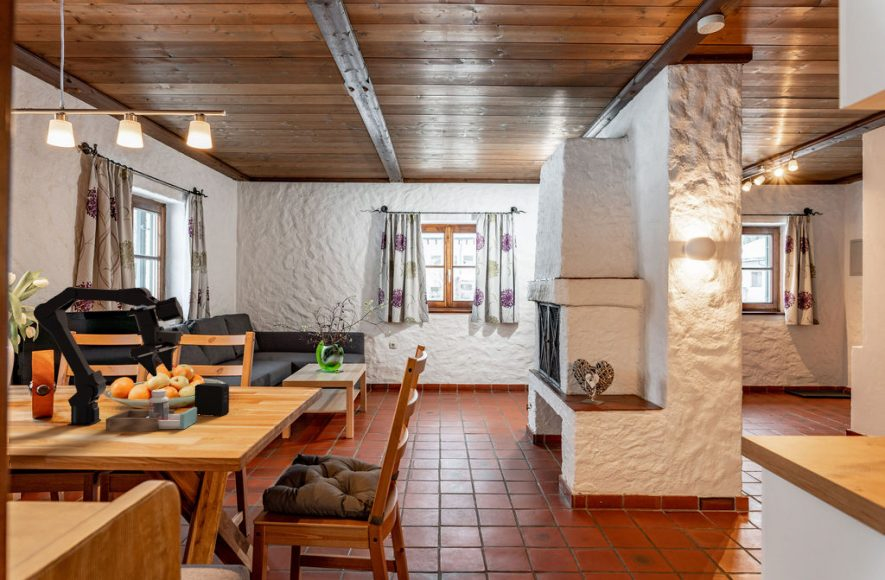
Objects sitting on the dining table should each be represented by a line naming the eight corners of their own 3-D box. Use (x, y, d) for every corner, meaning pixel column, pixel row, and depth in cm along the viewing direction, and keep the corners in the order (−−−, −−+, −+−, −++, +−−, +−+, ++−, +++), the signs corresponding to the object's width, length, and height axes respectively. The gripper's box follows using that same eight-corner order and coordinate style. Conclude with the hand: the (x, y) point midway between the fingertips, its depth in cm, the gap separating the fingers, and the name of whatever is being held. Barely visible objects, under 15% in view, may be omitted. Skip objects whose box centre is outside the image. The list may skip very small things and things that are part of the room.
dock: (105, 431, 159) (105, 418, 159) (127, 421, 171) (127, 409, 171) (156, 431, 160) (156, 418, 160) (174, 421, 172) (174, 409, 172)
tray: (138, 429, 161) (138, 414, 161) (153, 421, 170) (153, 407, 170) (184, 429, 162) (184, 414, 162) (196, 421, 171) (196, 407, 171)
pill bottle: (145, 424, 163) (145, 392, 163) (154, 420, 169) (155, 388, 169) (162, 424, 163) (163, 392, 163) (172, 420, 169) (172, 388, 168)
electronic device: (221, 416, 178) (221, 386, 178) (194, 414, 180) (194, 384, 180) (229, 413, 182) (229, 383, 182) (202, 412, 184) (202, 382, 184)
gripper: (157, 321, 162) (172, 371, 162) (187, 316, 181) (200, 362, 181) (121, 331, 162) (136, 382, 162) (155, 326, 181) (168, 371, 181)
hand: (163, 373), depth 172 cm, fingers open, 9 cm apart
